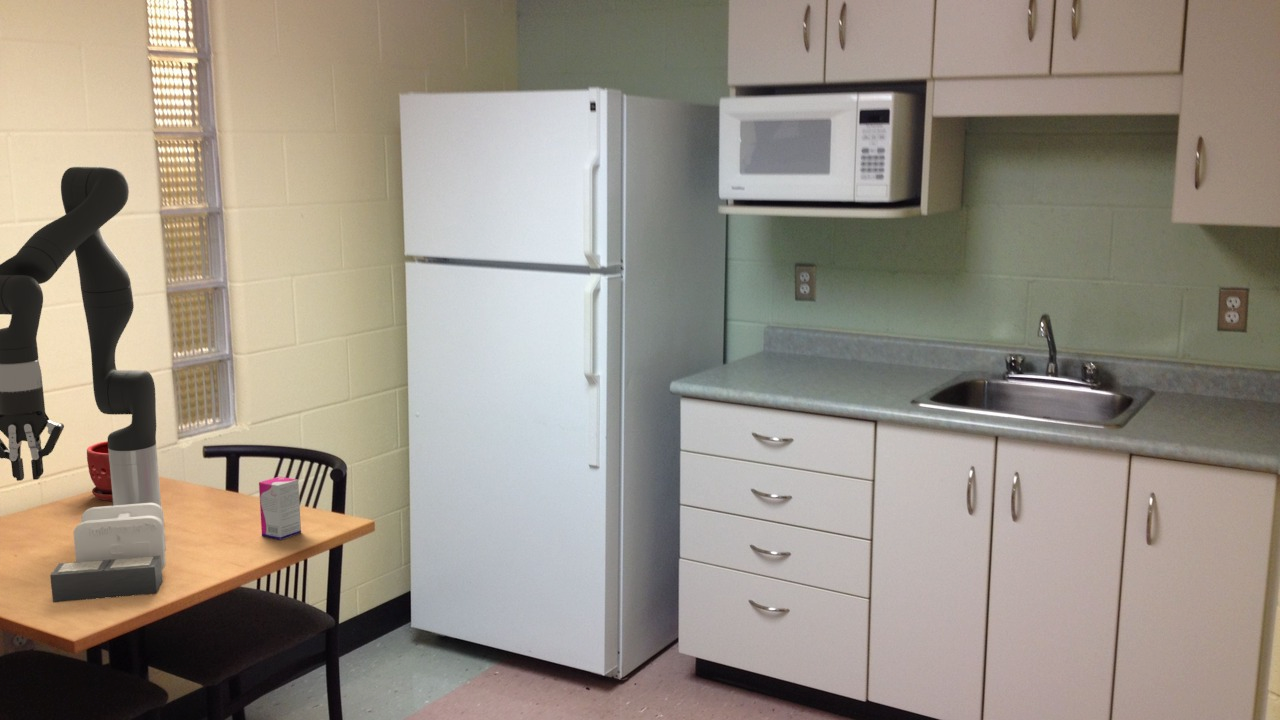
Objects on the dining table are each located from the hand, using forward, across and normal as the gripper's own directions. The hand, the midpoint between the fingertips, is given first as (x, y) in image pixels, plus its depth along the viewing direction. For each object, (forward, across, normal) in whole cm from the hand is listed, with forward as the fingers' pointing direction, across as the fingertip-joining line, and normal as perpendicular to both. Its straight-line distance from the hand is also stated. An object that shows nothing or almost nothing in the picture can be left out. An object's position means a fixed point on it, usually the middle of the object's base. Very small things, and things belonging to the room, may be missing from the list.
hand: (28, 478), depth 208 cm
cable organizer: (+19, -15, 0) cm, 24 cm away
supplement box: (+19, -42, -16) cm, 49 cm away
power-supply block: (+19, -14, +10) cm, 26 cm away
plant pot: (+19, -4, -54) cm, 57 cm away
